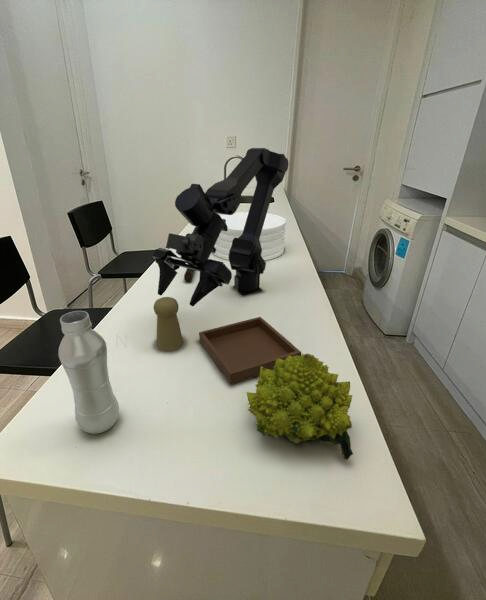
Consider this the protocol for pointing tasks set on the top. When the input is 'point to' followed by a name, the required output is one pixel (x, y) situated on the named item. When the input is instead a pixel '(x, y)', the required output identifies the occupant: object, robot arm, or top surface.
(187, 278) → the kitchen knife
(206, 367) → the top surface
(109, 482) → the top surface
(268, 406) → the vegetable
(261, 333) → the tray
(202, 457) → the top surface
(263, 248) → the plate stack
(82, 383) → the plastic bottle
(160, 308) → the cork
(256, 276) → the robot arm
